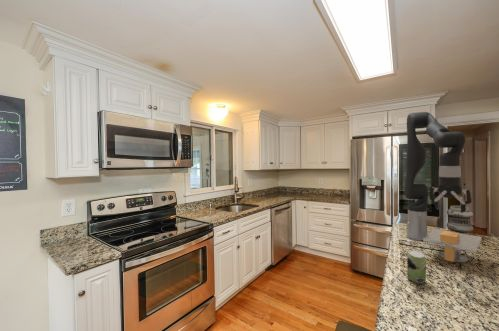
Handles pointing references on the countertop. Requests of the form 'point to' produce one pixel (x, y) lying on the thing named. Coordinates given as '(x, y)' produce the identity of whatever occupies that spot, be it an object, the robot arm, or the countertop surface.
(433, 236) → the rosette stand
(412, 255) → the beverage can
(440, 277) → the countertop surface
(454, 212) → the apothecary jar
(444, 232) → the orange block
